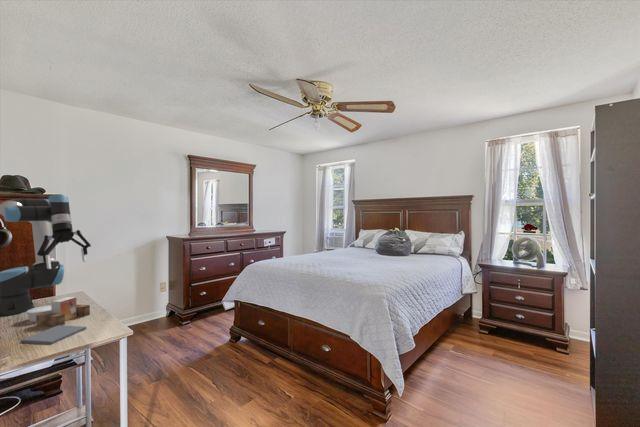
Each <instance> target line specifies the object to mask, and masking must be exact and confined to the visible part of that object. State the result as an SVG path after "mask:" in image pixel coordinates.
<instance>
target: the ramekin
mask: <svg viewBox="0 0 640 427" xmlns="http://www.w3.org/2000/svg"><path fill="white" fill-rule="evenodd" d="M25 313H26V315H27V318H28V321H29V322H30V323H37V317H36V315H39V314H42V313H52V309H51V305H50V304H49V305H48V304H47V305H42V306H37V307H34V308H33V309H30V310H28V311H25Z"/></svg>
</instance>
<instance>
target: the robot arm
mask: <svg viewBox="0 0 640 427" xmlns="http://www.w3.org/2000/svg"><path fill="white" fill-rule="evenodd" d="M0 216H2V217H3V219H4V221H5V222H7V223H10V222H11V223H17V222H18V223H19V222H21V223H23V222H29V223H30V224H31V227H32V229H31V230H32V237H33V246H34V256H35V257H34V258H35V262H34V263H33V264H32V268H29V266H18V267H12V268H8V269H5V270H2V271H0V317H3V316H12V315H17V314H20V313H26V312H27V311H28V310H30V309H33V308H35V304H34V303H35V302H33V299H32V298H31V296H30V290H34V289H41V288H47V287H52V286H53V287H54V286H58V285H60V284H62V283H63V280H64V277H65V266H64V264H60V263H61V262H60V261H59V260H57V259H56V251H55V250H56V249H55V247H56V246H57V245H59V243H60V244H62V243H65V242H66V243H68V242H70V241H72V242H74V243H75V244H77V245H78V246H80V247H81V248H80V250H81V251H80V252H81V253H80V254H81V260H82V262H84V263H86V262H87V258H86V256H87V255H88V253H89V252H88V248H89V247H90V248H91V247H92V244H91V243H90V242H89V241H88V240H87V239H86V238H85V237H84V236H83V234H82V231H81V230H79V229H77V230H76V231H73V223H72V217H71V216H72V215H71V210H70V201H69V197H68V196H67V195H66V194H63V193H62V194H60V193H59V194H52V195H50V196H49V197H48V198H12V199H8V200H5V201H2V202H1V203H0ZM75 235H76V236H78V237H79V239H81V241H83V243H81V242H80V241H78V240H77V239H75V238H74V236H75Z"/></svg>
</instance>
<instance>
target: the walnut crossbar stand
mask: <svg viewBox="0 0 640 427" xmlns="http://www.w3.org/2000/svg"><path fill="white" fill-rule="evenodd" d="M76 305H77V317H83V318H84V317H87V316H89V315H90V314H91V310H90V305H91V304H76ZM36 317H37V322H36V326H38V327H51V328H53V327H55V326H58V325H62V326H66V321H65V314H52V313H42V314H39V315H36Z"/></svg>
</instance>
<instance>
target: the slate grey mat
mask: <svg viewBox="0 0 640 427" xmlns="http://www.w3.org/2000/svg"><path fill="white" fill-rule="evenodd" d="M85 330H87V326H82V325H81V326H77V325H74V326H73V325H58V326H55V327H51V328H48V329H45V330H42V331H40V332H37V333H35V334H33V335H30V336H27V337H25V338H22V339H20V340H21V341H20V342H21V343H30V344H44V345H45V344H46V345H47V344H48V345H53V344H56V343H58V342H60V341H62V340H65V339H66V338H70V337H72V336H73V335H76V334H78V333H81V332H82V331H83V332H84V331H85Z"/></svg>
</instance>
